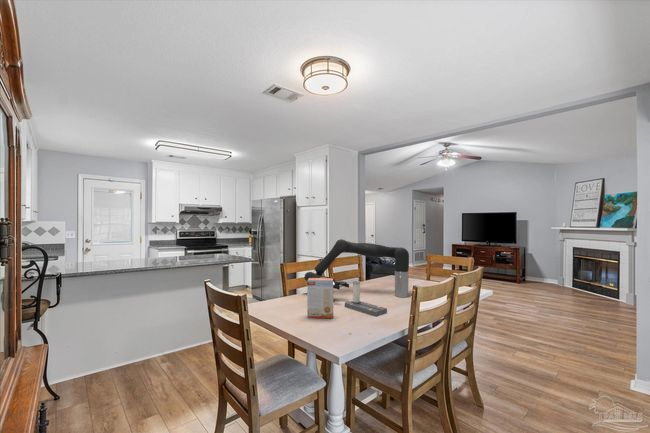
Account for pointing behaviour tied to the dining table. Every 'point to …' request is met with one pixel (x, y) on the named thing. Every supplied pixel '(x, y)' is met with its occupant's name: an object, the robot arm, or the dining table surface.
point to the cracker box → (320, 297)
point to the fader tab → (356, 292)
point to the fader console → (366, 308)
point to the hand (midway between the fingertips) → (344, 286)
